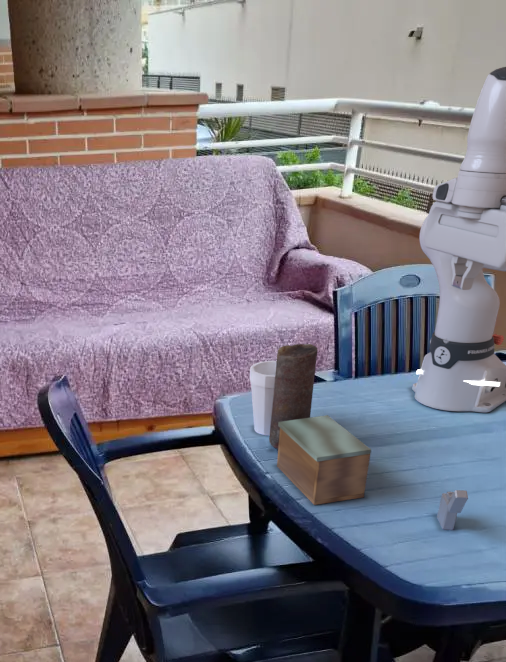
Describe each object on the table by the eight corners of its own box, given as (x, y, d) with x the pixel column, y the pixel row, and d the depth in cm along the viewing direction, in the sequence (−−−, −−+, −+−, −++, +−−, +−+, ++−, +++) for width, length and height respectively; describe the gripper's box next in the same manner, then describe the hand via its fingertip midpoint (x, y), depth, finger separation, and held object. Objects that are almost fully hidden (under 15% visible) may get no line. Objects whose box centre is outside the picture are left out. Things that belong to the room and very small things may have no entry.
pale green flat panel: (316, 461, 122) (317, 457, 121) (278, 426, 135) (278, 421, 134) (370, 453, 123) (371, 449, 123) (327, 419, 136) (327, 414, 136)
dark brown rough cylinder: (307, 456, 142) (318, 354, 131) (268, 454, 143) (276, 353, 133) (306, 440, 148) (316, 341, 138) (268, 438, 150) (276, 340, 139)
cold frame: (314, 505, 126) (319, 461, 122) (276, 466, 139) (280, 425, 135) (363, 497, 127) (370, 454, 123) (322, 459, 141) (327, 419, 136)
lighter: (436, 516, 121) (446, 472, 117) (447, 516, 121) (458, 472, 116) (446, 539, 115) (456, 493, 111) (458, 539, 115) (469, 494, 111)
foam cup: (295, 422, 156) (301, 362, 149) (290, 440, 148) (296, 378, 142) (250, 418, 159) (253, 359, 152) (242, 436, 151) (246, 374, 144)
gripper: (553, 200, 103) (522, 302, 110) (462, 186, 121) (440, 275, 128) (514, 200, 102) (485, 303, 109) (427, 186, 119) (407, 275, 126)
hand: (460, 288), depth 119 cm, fingers closed
